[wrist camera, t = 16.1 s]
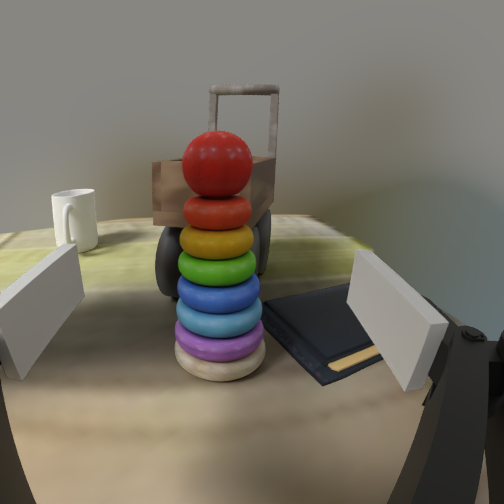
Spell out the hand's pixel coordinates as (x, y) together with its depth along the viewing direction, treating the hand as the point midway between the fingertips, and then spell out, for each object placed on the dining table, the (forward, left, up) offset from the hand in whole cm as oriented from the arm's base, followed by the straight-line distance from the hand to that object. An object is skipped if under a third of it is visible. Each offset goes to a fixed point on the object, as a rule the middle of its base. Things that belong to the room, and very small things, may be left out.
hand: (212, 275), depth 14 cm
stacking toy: (-2, +9, -12) cm, 16 cm away
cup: (-36, +29, -12) cm, 47 cm away
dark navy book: (+10, +19, -13) cm, 25 cm away
